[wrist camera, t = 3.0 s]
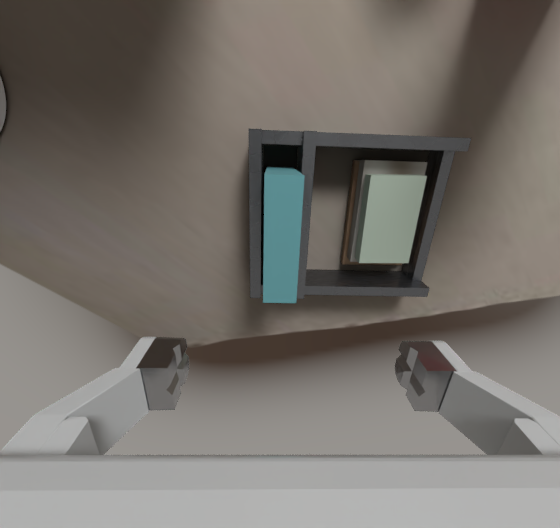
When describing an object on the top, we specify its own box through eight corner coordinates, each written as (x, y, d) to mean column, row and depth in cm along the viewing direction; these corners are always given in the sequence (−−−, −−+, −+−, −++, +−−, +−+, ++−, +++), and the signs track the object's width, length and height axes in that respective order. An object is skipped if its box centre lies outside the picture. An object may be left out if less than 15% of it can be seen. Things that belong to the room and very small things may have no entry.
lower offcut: (339, 259, 38) (342, 264, 36) (351, 160, 33) (355, 160, 31) (395, 260, 38) (401, 265, 36) (415, 162, 33) (423, 162, 31)
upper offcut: (354, 257, 34) (359, 263, 32) (365, 174, 30) (371, 175, 28) (401, 257, 34) (408, 263, 32) (418, 174, 30) (427, 176, 28)
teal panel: (266, 252, 36) (263, 302, 24) (267, 166, 32) (264, 174, 20) (288, 253, 36) (296, 303, 24) (292, 167, 32) (304, 175, 20)
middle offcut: (346, 256, 36) (350, 261, 34) (360, 159, 31) (364, 160, 29) (398, 257, 36) (404, 262, 34) (419, 161, 31) (427, 162, 30)
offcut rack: (253, 276, 37) (250, 297, 32) (252, 133, 30) (248, 128, 25) (408, 279, 38) (431, 300, 33) (441, 140, 31) (478, 137, 26)
